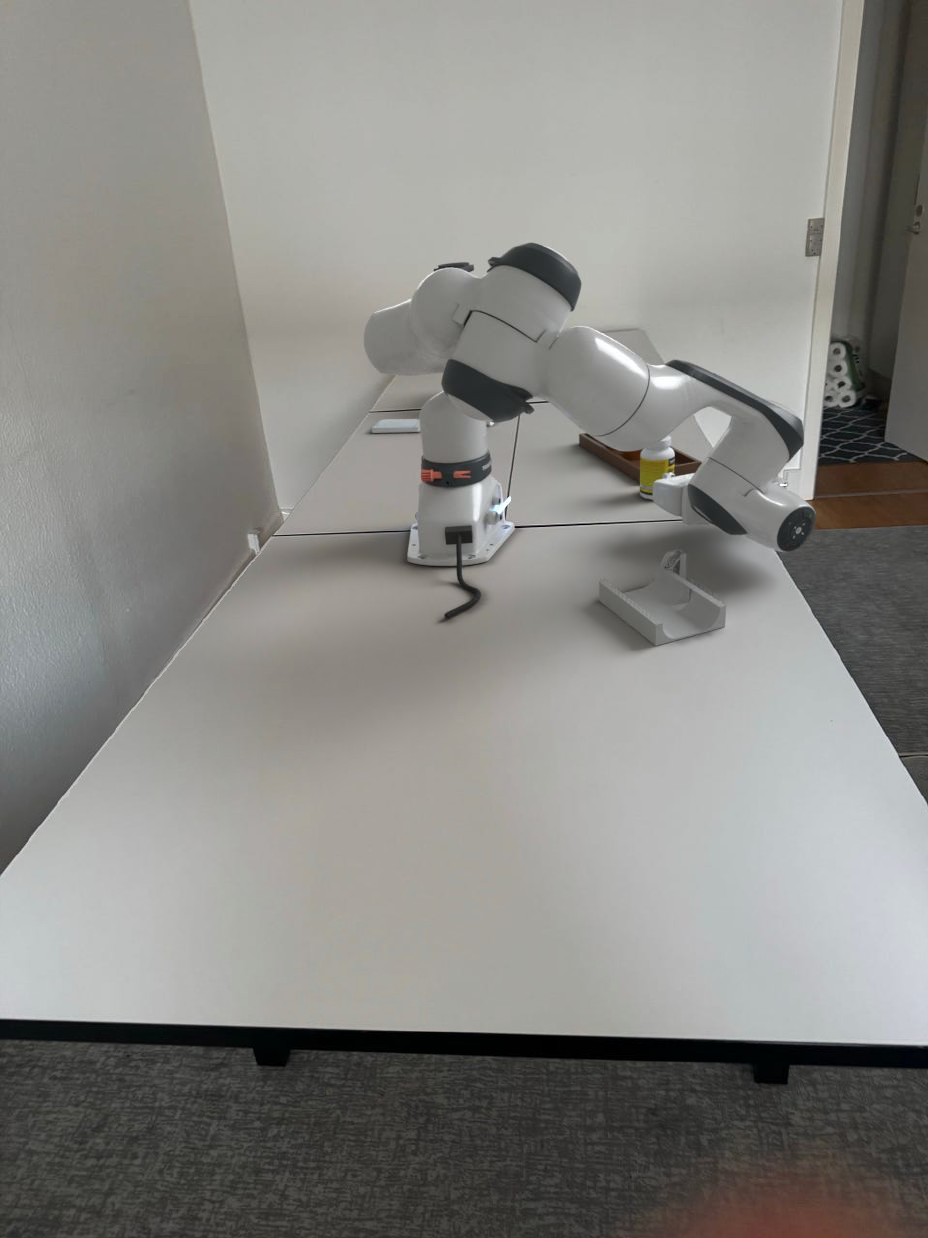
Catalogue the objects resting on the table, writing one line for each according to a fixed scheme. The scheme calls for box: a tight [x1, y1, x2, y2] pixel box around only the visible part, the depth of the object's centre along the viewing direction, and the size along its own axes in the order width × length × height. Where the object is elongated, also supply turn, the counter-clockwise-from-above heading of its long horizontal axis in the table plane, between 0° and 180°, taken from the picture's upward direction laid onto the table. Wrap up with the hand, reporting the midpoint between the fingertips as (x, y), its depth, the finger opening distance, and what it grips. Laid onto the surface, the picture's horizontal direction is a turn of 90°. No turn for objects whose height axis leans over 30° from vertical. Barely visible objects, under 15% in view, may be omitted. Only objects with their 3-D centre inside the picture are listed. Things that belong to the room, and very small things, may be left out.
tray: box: [578, 432, 703, 483], centre depth 177 cm, size 32×13×2 cm, turn 16°
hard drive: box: [371, 418, 421, 434], centre depth 216 cm, size 2×8×12 cm
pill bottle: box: [639, 434, 675, 501], centre depth 155 cm, size 6×6×11 cm
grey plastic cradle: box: [598, 548, 727, 647], centre depth 115 cm, size 15×13×5 cm
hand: (691, 472), depth 143 cm, fingers open, 8 cm apart
